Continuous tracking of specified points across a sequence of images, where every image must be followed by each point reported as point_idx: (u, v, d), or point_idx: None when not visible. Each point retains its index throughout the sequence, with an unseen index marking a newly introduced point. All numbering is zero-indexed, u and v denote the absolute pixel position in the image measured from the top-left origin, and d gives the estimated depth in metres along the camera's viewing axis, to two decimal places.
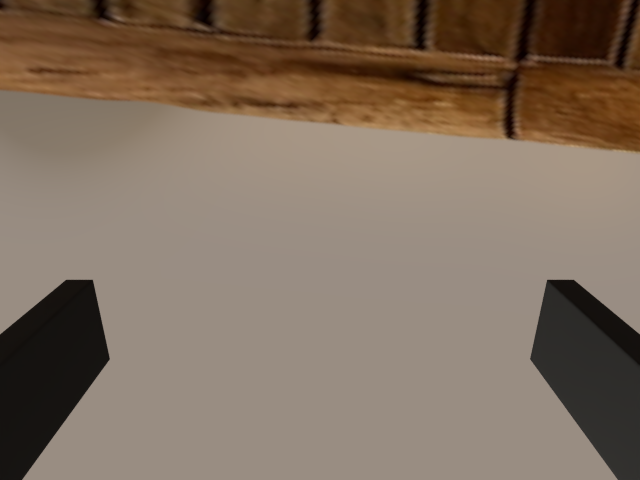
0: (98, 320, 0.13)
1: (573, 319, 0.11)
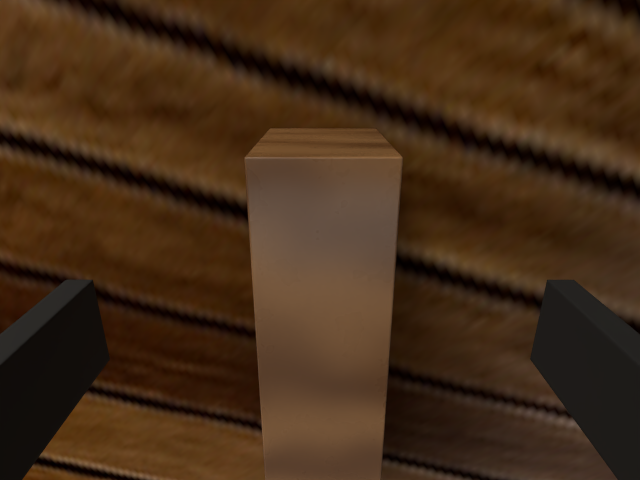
0: (98, 320, 0.13)
1: (572, 319, 0.11)
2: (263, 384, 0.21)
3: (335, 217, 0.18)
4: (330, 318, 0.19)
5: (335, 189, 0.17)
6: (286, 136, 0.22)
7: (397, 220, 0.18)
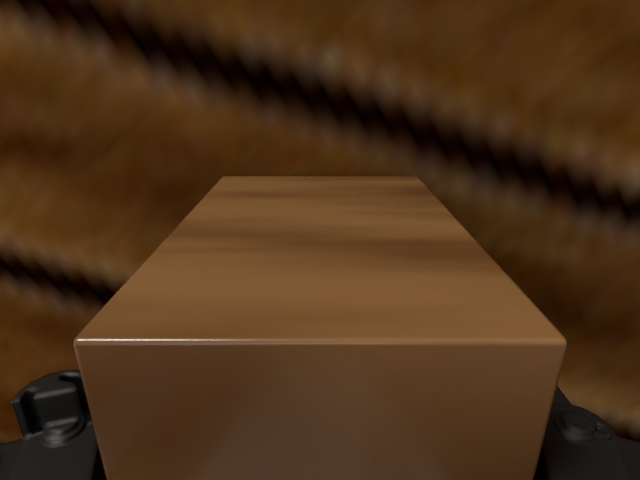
0: None
1: None
2: None
3: None
4: None
5: (355, 422, 0.06)
6: (243, 207, 0.10)
7: None
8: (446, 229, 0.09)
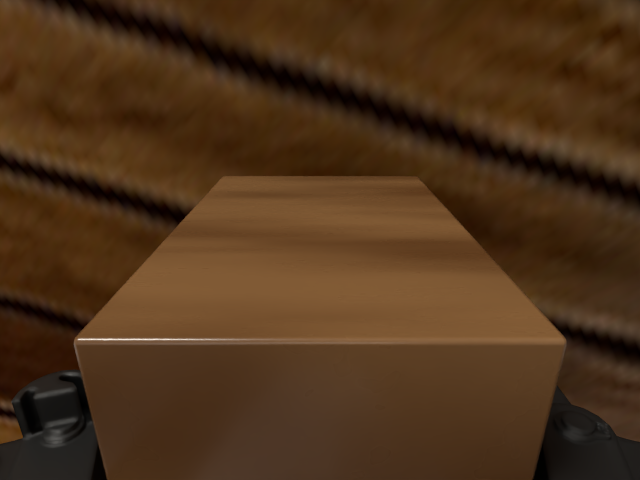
0: None
1: None
2: None
3: None
4: None
5: (355, 422, 0.06)
6: (243, 206, 0.10)
7: None
8: (446, 229, 0.09)
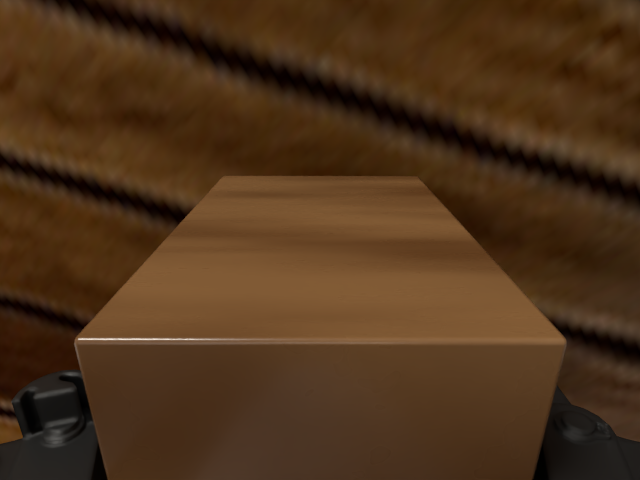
0: None
1: None
2: None
3: None
4: None
5: (355, 422, 0.06)
6: (243, 206, 0.10)
7: None
8: (446, 229, 0.09)
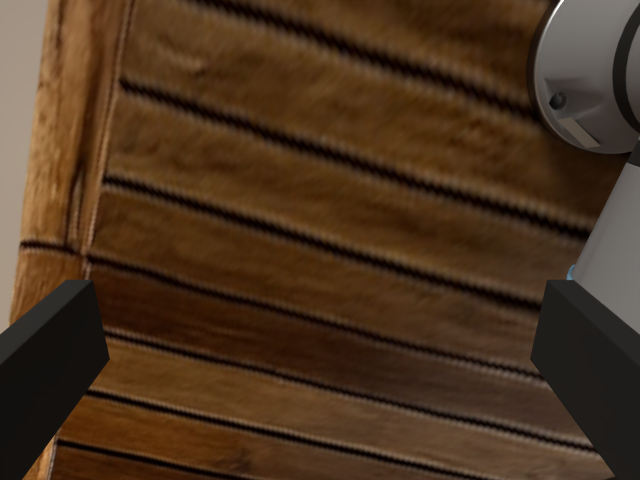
0: (98, 320, 0.13)
1: (573, 319, 0.11)
2: None
3: None
4: None
5: None
6: None
7: None
8: None
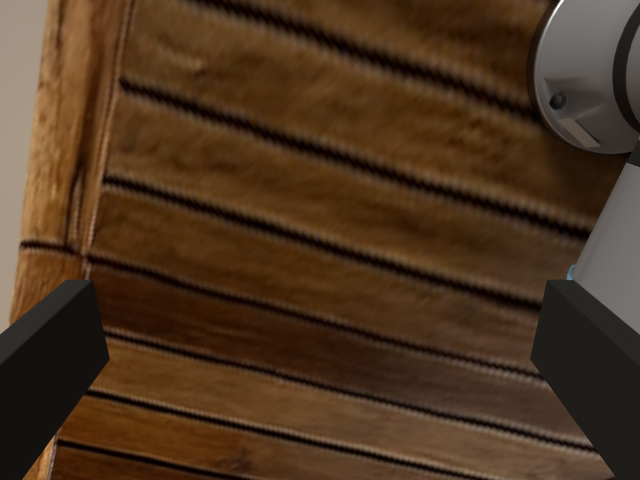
0: (98, 320, 0.13)
1: (573, 319, 0.11)
2: None
3: None
4: None
5: None
6: None
7: None
8: None
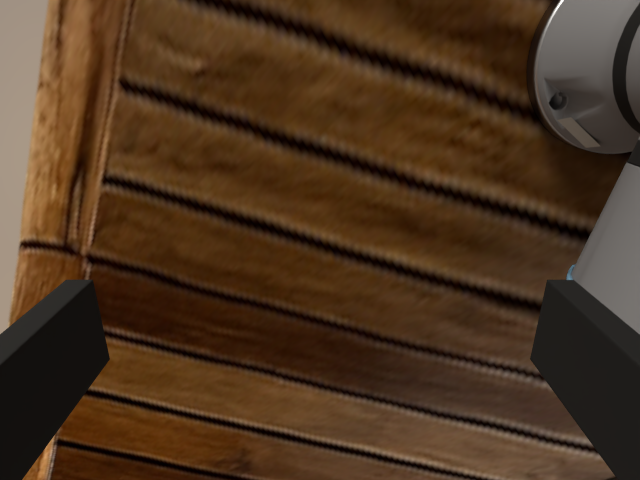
0: (98, 320, 0.13)
1: (573, 319, 0.11)
2: None
3: None
4: None
5: None
6: None
7: None
8: None
